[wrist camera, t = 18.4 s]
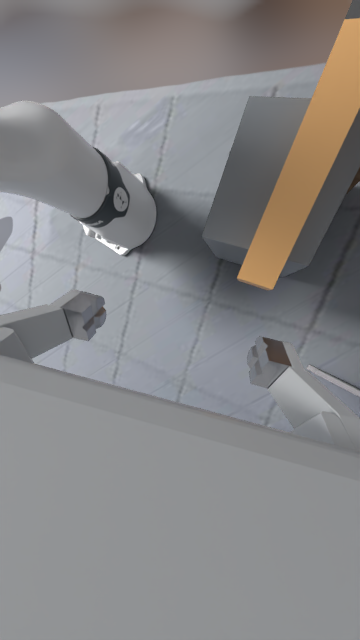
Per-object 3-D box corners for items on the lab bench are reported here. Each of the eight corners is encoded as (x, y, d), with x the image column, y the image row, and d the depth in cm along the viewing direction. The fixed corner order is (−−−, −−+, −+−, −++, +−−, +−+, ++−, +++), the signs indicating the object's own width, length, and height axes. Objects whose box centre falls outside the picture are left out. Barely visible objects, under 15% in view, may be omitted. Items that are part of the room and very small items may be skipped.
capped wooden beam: (237, 280, 24) (236, 277, 20) (334, 51, 17) (358, -15, 14) (267, 290, 22) (272, 289, 19) (381, 49, 16) (421, -22, 13)
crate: (216, 257, 38) (201, 236, 24) (247, 175, 34) (249, 96, 20) (282, 277, 34) (308, 266, 21) (326, 188, 30) (393, 101, 17)
